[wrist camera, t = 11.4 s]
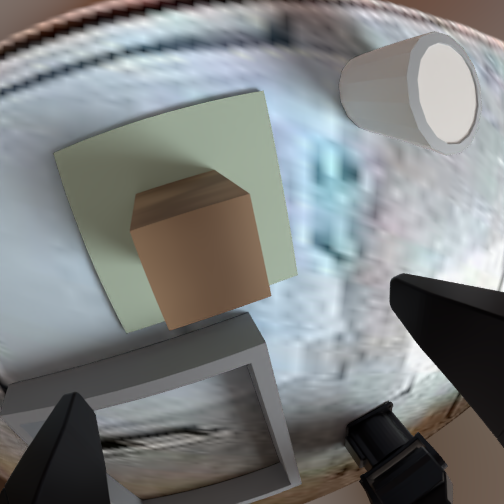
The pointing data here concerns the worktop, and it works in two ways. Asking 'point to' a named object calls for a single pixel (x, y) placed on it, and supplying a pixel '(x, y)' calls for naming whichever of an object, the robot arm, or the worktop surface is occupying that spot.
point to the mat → (166, 171)
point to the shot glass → (415, 93)
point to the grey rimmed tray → (161, 380)
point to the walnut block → (199, 247)
